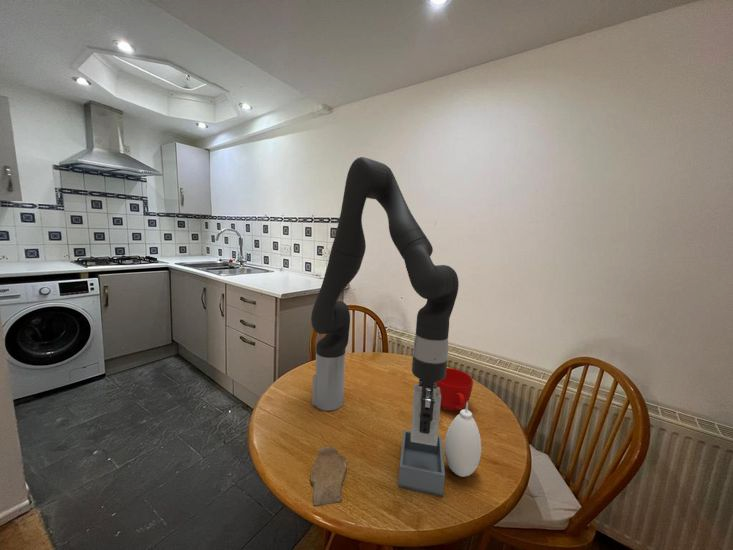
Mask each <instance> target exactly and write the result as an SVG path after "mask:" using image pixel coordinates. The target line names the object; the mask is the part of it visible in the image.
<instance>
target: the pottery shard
mask: <svg viewBox="0 0 733 550" xmlns="http://www.w3.org/2000/svg"><path fill="white" fill-rule="evenodd" d="M347 465H348V464H347V462H346V457H345V456H342V455H340V454H339V452H338V450H337V448H336V447H334V446H332V445H329V446H327V447H326V446H324V447H322V448H320V449H319V450H318V453H317V457H316V458H315V461H314V463H313V465H312V468H311V472H310V482H311V484H312V494H313V497H312V503H313V507H321V506H325V505H326V506H327V505H333V504H339V503H340V504H341V503H342V502H343V493H342V489H343V483H344V480H345V477H346V474H347V473H346V472H347Z"/></svg>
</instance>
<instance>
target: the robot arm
mask: <svg viewBox="0 0 733 550" xmlns="http://www.w3.org/2000/svg"><path fill="white" fill-rule="evenodd" d="M344 184H345V185H344V191H343V197H342V204H341V208H340V209H341V210H340V214H339V218H338V219H339V220H338V223H337V228H336V231H335V235H334V240H333V243H332V245H331V249H330V252H329V253H330V254H329V258H328V262H327V266H326V270H325V273H324V276H323V280H322V283H321V287H320V289H319V291H318V294H317V296H316V300H315V301H314V304H313V308H312V311H311V318H310V322H311V326H312V329H313V331H314V332H315V333H317V334H319V335H325V336H324V337H322V338H321V339H319V340H318V341H317V343H316V344H315V345H316V346H315V371H314V372H315V373H314V375H313V376H312V391H311V392H312V393H311V395H312V398H311V404H312V406H315V408H317V409H318V410H321V411H324V412H325V411H327V412H329V411H335V410H338V409H340V408H342V406H343V404H344V394H345V393H344V390H345V371H346V370H345V369H346V367H345V366H346V348H347V346H348V344H349V338H350V337H349V336H350V326H351V313H350V308H349V306H348V305H347V303H346V302H344V301H342V300H338V299H339V298H340V296H341V294H342V292H344V290H345V289H346V287H348V286H349V285H350V283H351V282H352V281H353V279H354V278H355V277H356V276H357V274H358V273H359V272H360V269H361V266H362V262H363V261H364V260H363V259H364V257H365V254H366V253H365V252H366V246H367V245H366V239H365V234H364V232H365V231H364V229H363V221H362V220H363V212H364V208H365V205H366V201H367V199H371V200H376V201H377V202H378V203H379V205H380V206H381V207H382V208H383V209H384V211H385V213H386V217H387V220H388V221H387V223H388V232H389V237H390V238H391V240H392V243H393V244H394V246H395V248H396V250H397V251H398V252H399V255H400V256H401V258H402V259H403V261H404V265H405V269H406V273H407V276H408V278H409V281H410V284H411V286H412V288H413V291H415V293H416V294H417V295H418V296H420V297H421V298H422V299H425V300H426V303H425V305H424V306H422V307H421V308H420V309H419V310H418V311H417V314H416V322H415V323H416V326H415V335H414V341H413V349H412V360H411V361H412V362H411V363H412V364H411V373H412V375H413V376H414V377H416V378H417V379H418V385H419V406H420V407H421V410H420V428H419V431H420V432H421V433H425V434H429V433H430V421H431V422H432V420H433V417H432V416H433V408H434V407H435V395H436V394H437V386H436V382H437V381H442V380H443V379H444V378H445V377H446V369H447V368H448V367H447V366H448V355H449V331H450V318H451V315H452V312H453V310H454V306H455V303H456V299H457V297H458V292H459V283H460V282H459V276H458V274H457V272H456V270H455V269H453V268H452V267H451V266H449V265H446V264H440V265H435V264H434V262H433V260H432V258H431V256H432V254H433V252H434V251H433V250H434V249H433V245H432V243H431V242H430V240H429V238H428V237H427V235H426V233H425V232H424V231H423V229H422V227H420V225H419V223H418V222H417V220H416V219H415V218H414V215H413V214H412V212H411V210H410V208H409V206H408V204H407V202H406V200H405V197H404V195H403V193H402V191H401V189H400V187H399V184H398V181H397V179H396V177H395V174H394V173H393V171H392V170H391V168H390V167H389V166H388V165H387V164H385V163H383V162H380V161H377V160H373V159H371V158H367V157H364V156H360V157H356V159H354V161H352V163H351V165H350V166H349V169H348V171H347V176H346V180H345V183H344ZM432 396H433V399H432ZM421 398H422V399H421Z"/></svg>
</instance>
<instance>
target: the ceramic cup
mask: <svg viewBox="0 0 733 550" xmlns="http://www.w3.org/2000/svg"><path fill="white" fill-rule="evenodd" d="M473 385H474V380H473V378H472V377H471V375H470V374H468V373H466V372H464V371H462V370H460V369H456V368H452V367H451V368H450V367H447V369H446V377H445V378H444V379H443V380H442V381H437V382H436V386H437V387H439V388H440V393H441V403H440V408H442V409H444V410H446V411H450V412H457V411H459V410H463V409H465V407H466V403H467V401H469V400H470V398H471V395H472V391H473Z"/></svg>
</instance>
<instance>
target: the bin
mask: <svg viewBox="0 0 733 550" xmlns="http://www.w3.org/2000/svg"><path fill="white" fill-rule="evenodd" d="M442 439H443V438H442V436H439V435H438V441H437V446H432V445H427V444H421V443H415V442H411V430H406V429H403V433H402V441H401V450H400V457H399V458H400V459H399V471H398V482H397V483H398V484H397V487H398V488H401V489H406V490H410V491H414V492H419V493H424V494H429V495H432V496H437V497H440V498H441V497H443V498H444V489H445V488H444V487H445V479H446V478H445V477H446V473H445V472H446V471H445V463H444V462H445V461H444V449H443V440H442Z"/></svg>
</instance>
